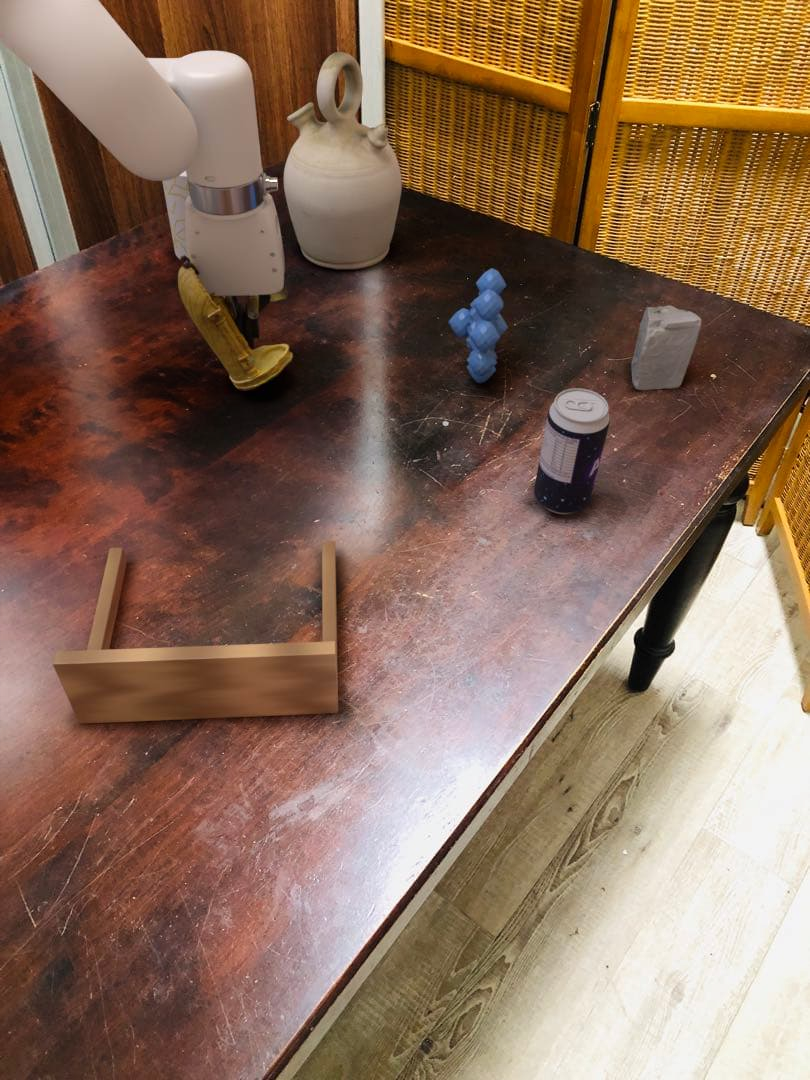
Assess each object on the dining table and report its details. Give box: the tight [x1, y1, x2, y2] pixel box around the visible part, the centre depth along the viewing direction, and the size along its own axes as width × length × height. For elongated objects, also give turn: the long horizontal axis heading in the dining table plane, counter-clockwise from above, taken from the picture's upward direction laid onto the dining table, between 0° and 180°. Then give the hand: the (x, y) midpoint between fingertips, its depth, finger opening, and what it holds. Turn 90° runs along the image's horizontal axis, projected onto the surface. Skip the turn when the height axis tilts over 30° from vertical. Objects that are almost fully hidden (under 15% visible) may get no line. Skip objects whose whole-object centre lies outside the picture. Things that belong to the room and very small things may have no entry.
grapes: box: [448, 267, 509, 384], centre depth 99 cm, size 12×7×12 cm, turn 172°
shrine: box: [177, 255, 294, 392], centre depth 95 cm, size 12×8×15 cm
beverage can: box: [533, 387, 611, 515], centre depth 84 cm, size 6×6×12 cm
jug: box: [283, 51, 403, 271], centre depth 113 cm, size 15×16×25 cm
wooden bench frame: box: [52, 541, 339, 725], centre depth 73 cm, size 20×17×8 cm
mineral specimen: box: [630, 304, 703, 391], centre depth 101 cm, size 7×9×8 cm
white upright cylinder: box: [161, 171, 190, 260], centre depth 117 cm, size 8×8×12 cm
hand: (247, 342), depth 103 cm, fingers closed
